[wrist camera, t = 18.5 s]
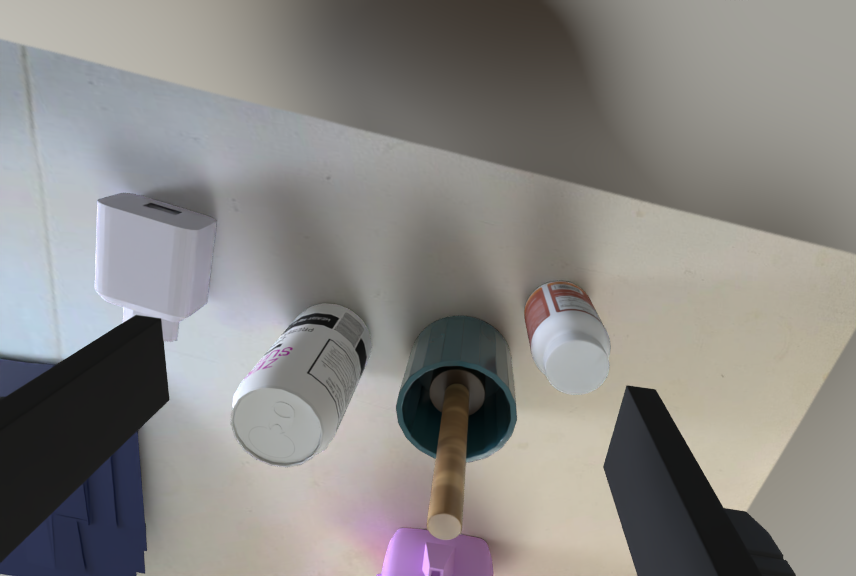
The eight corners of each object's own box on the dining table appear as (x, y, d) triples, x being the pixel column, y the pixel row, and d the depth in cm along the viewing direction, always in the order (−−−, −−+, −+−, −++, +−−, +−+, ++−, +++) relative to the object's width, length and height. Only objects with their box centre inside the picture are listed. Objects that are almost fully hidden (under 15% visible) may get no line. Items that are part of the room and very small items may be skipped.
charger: (120, 327, 54) (127, 190, 48) (204, 352, 54) (221, 219, 48) (87, 348, 49) (91, 200, 44) (179, 375, 49) (194, 231, 44)
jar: (489, 301, 48) (489, 344, 40) (526, 386, 51) (533, 444, 43) (394, 335, 50) (376, 383, 42) (435, 415, 53) (425, 475, 45)
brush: (473, 336, 49) (466, 486, 30) (493, 379, 50) (497, 547, 32) (426, 353, 50) (391, 506, 31) (446, 394, 51) (424, 564, 33)
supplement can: (357, 385, 53) (311, 488, 39) (284, 354, 53) (211, 447, 39) (385, 321, 50) (346, 408, 36) (307, 287, 50) (237, 363, 36)
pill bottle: (541, 349, 49) (556, 416, 39) (512, 297, 48) (519, 353, 37) (602, 322, 48) (634, 384, 37) (573, 267, 46) (598, 316, 36)
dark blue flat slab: (-10, 553, 67) (-38, 575, 63) (-48, 339, 59) (-81, 350, 56) (165, 578, 65) (147, 602, 61) (149, 360, 58) (128, 373, 54)
